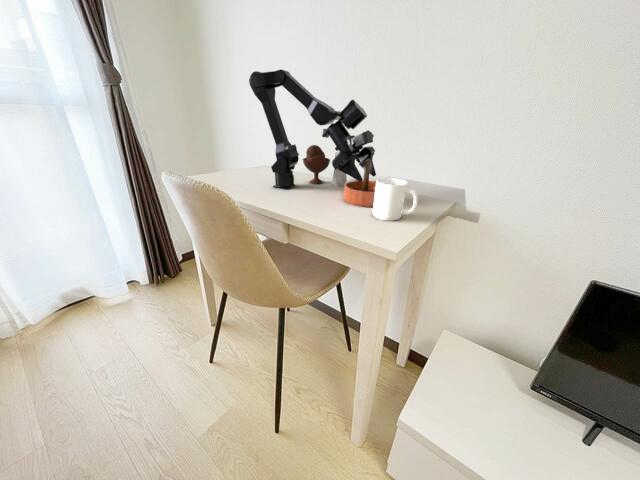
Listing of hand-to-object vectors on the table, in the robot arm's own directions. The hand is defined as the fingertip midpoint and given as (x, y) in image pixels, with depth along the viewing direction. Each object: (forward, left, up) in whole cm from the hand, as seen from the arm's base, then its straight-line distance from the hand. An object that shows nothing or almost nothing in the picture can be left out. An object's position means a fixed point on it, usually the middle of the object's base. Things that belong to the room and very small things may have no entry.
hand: (368, 178), depth 84 cm
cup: (+11, -11, -8) cm, 17 cm away
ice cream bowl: (-26, +13, -8) cm, 30 cm away
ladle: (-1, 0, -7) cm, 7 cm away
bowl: (-1, 0, -8) cm, 8 cm away
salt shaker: (-16, +14, -8) cm, 23 cm away
